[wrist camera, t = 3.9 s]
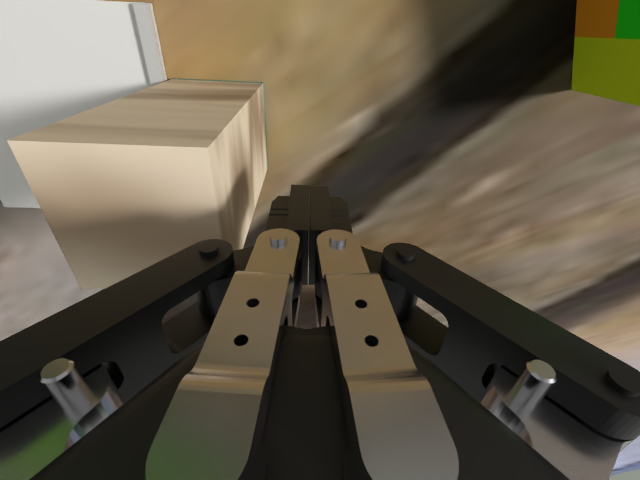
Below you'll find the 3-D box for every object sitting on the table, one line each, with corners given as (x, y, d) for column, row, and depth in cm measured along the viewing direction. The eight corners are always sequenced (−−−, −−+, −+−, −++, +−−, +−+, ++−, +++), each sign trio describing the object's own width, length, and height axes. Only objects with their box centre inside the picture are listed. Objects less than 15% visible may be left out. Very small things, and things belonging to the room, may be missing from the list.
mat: (-114, -12, 18) (-130, -13, 18) (151, 3, 19) (146, 2, 18) (7, 205, 26) (-1, 210, 25) (193, 210, 27) (190, 215, 26)
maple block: (173, 78, 21) (7, 140, 10) (263, 82, 22) (207, 147, 10) (189, 164, 25) (80, 288, 13) (267, 167, 25) (229, 291, 13)
